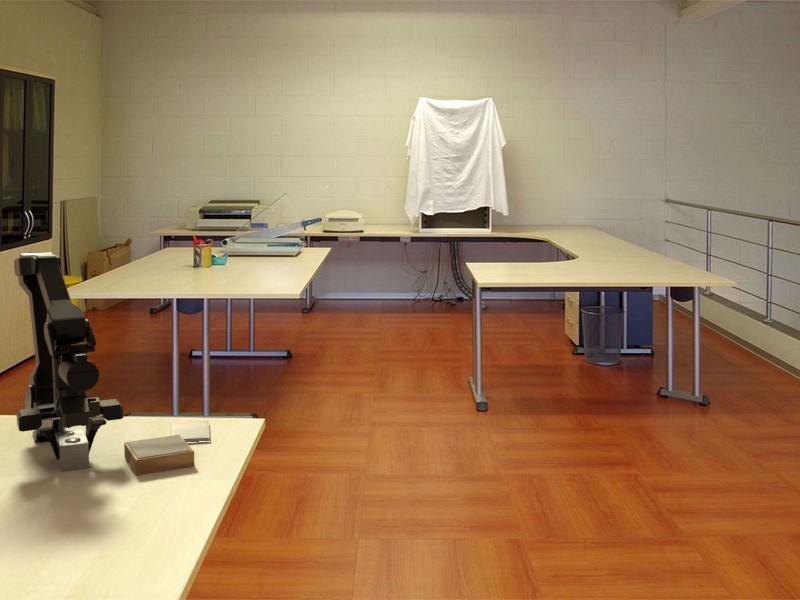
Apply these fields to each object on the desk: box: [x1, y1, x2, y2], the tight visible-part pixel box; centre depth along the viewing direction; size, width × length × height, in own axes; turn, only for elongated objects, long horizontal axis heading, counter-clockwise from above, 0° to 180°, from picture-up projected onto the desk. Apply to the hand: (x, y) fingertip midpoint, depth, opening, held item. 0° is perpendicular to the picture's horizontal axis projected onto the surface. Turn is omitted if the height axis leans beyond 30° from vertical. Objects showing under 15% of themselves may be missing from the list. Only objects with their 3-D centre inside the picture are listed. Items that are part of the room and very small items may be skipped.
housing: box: [56, 429, 90, 472], centre depth 156 cm, size 9×5×5 cm, turn 28°
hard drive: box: [170, 420, 211, 443], centre depth 175 cm, size 2×8×12 cm
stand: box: [123, 435, 195, 476], centre depth 158 cm, size 11×11×3 cm
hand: (72, 456), depth 157 cm, fingers closed on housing, 5 cm apart
